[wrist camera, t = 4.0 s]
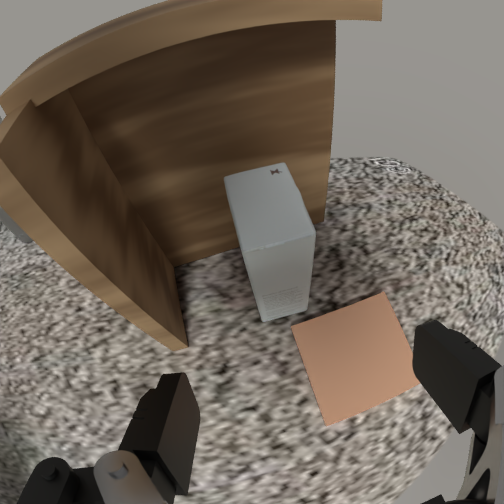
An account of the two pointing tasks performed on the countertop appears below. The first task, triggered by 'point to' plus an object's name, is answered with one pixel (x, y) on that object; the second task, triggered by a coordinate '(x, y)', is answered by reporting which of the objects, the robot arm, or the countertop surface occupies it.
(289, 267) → the skincare box
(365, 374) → the terracotta tile
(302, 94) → the walnut cubby
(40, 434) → the countertop surface
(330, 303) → the countertop surface
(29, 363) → the countertop surface
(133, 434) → the robot arm
